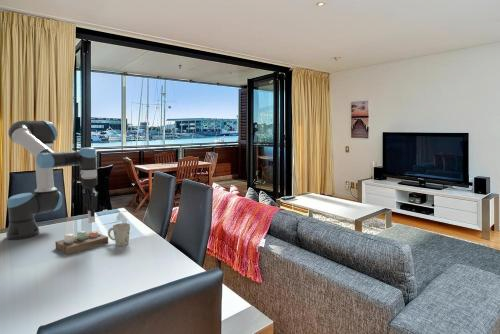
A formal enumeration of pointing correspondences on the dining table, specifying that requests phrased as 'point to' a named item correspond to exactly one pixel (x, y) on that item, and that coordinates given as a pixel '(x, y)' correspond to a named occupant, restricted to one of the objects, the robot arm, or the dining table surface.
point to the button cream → (69, 238)
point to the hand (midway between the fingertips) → (91, 222)
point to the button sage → (81, 235)
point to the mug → (120, 233)
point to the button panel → (81, 244)
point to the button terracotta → (93, 234)
